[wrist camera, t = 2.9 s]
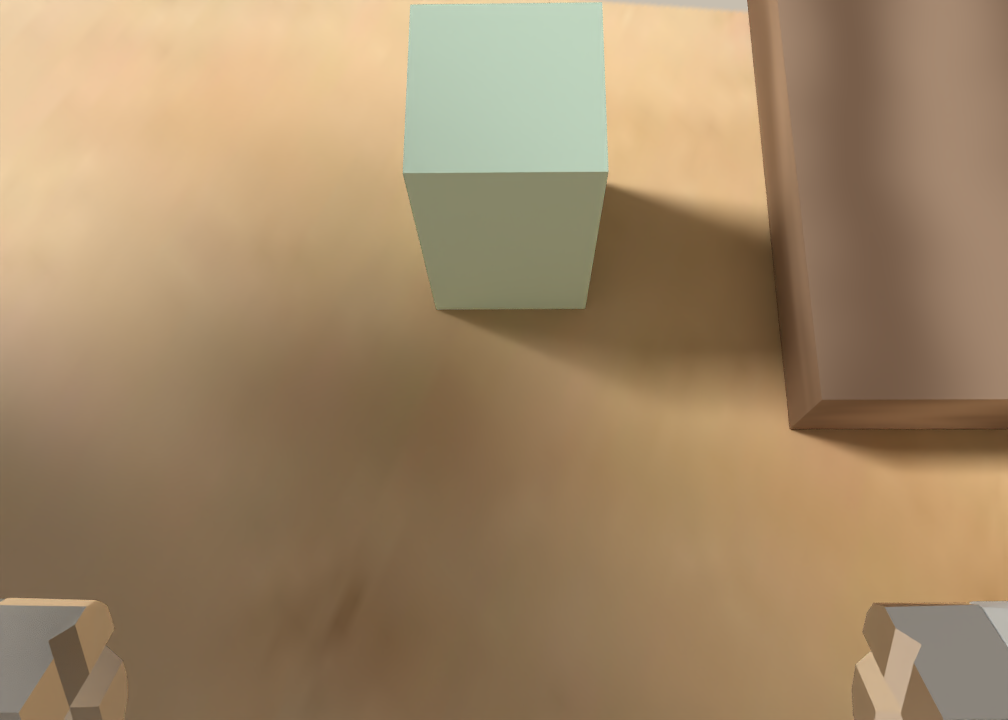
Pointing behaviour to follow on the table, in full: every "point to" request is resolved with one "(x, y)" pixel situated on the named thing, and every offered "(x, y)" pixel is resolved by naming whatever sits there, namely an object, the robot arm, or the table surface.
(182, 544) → the table surface
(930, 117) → the walnut platform
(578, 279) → the sage block
